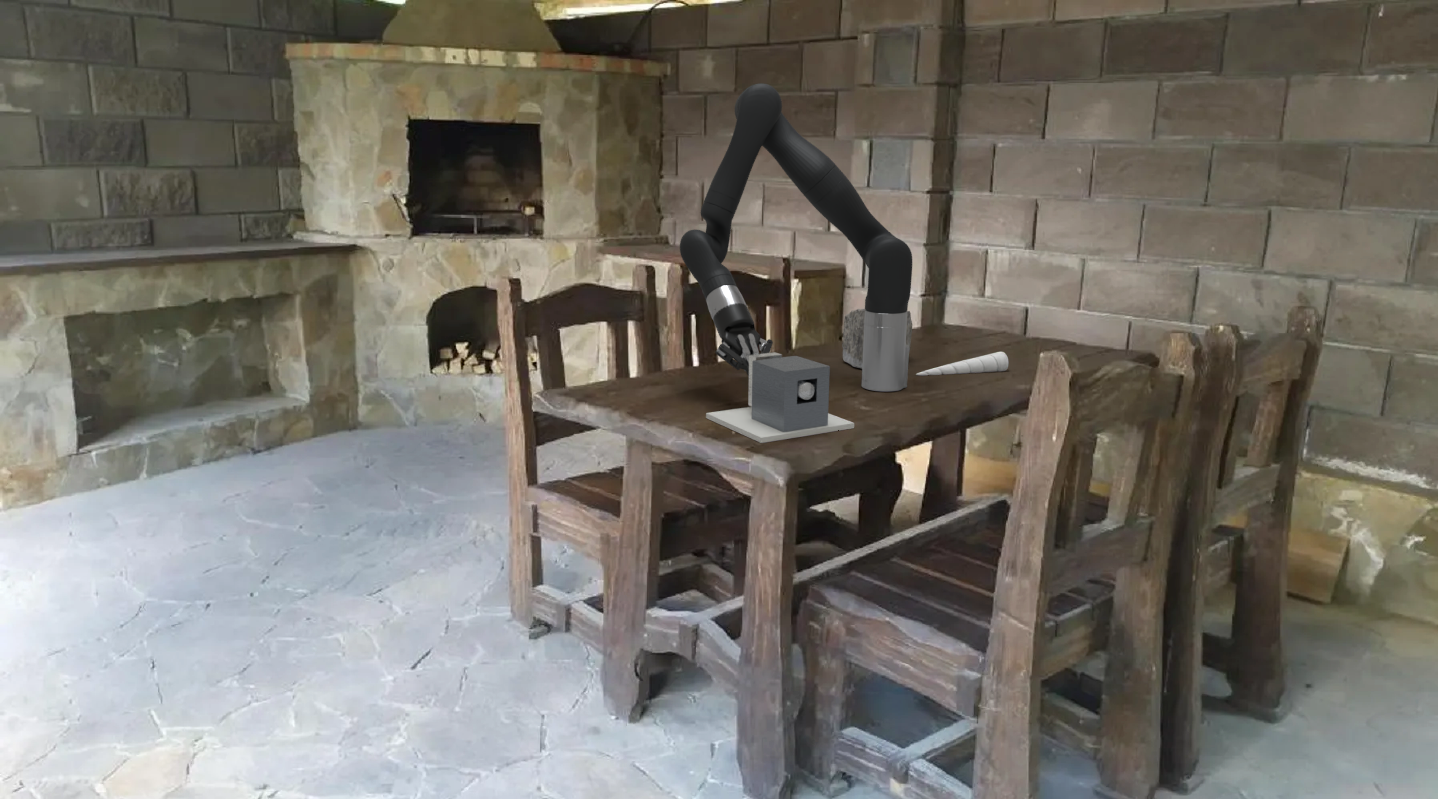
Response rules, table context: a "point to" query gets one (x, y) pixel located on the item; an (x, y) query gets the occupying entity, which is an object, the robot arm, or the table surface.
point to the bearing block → (789, 393)
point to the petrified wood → (861, 336)
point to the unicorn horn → (972, 365)
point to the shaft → (803, 387)
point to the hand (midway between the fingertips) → (760, 383)
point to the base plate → (762, 433)
